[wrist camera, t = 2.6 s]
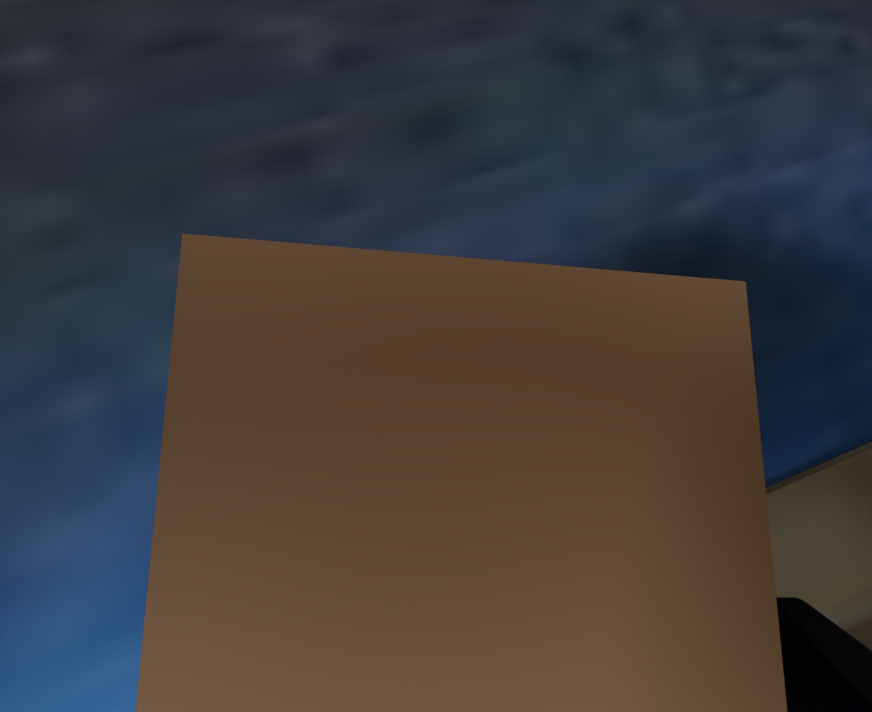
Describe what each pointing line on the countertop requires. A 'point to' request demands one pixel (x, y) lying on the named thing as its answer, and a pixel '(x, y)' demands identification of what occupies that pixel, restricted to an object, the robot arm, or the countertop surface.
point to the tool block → (827, 539)
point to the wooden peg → (457, 490)
